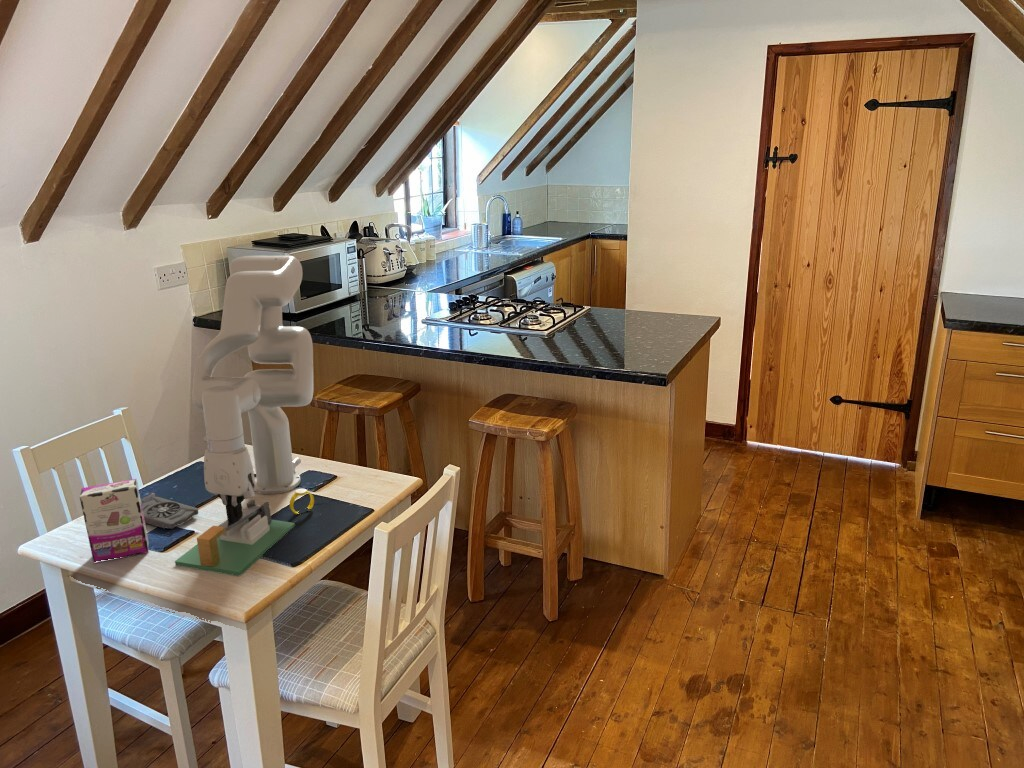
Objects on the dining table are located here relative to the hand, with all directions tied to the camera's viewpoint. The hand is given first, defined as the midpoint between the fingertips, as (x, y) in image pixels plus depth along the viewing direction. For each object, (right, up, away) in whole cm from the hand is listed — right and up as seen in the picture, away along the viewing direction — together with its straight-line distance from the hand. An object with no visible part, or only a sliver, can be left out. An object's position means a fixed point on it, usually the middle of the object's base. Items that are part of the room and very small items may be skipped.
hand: (235, 519), depth 174 cm
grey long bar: (0, 0, +3) cm, 3 cm away
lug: (-2, -8, -5) cm, 10 cm away
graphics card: (-24, -3, +14) cm, 28 cm away
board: (0, -6, +2) cm, 7 cm away
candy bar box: (-25, -8, -1) cm, 26 cm away
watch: (+11, -1, +17) cm, 20 cm away
